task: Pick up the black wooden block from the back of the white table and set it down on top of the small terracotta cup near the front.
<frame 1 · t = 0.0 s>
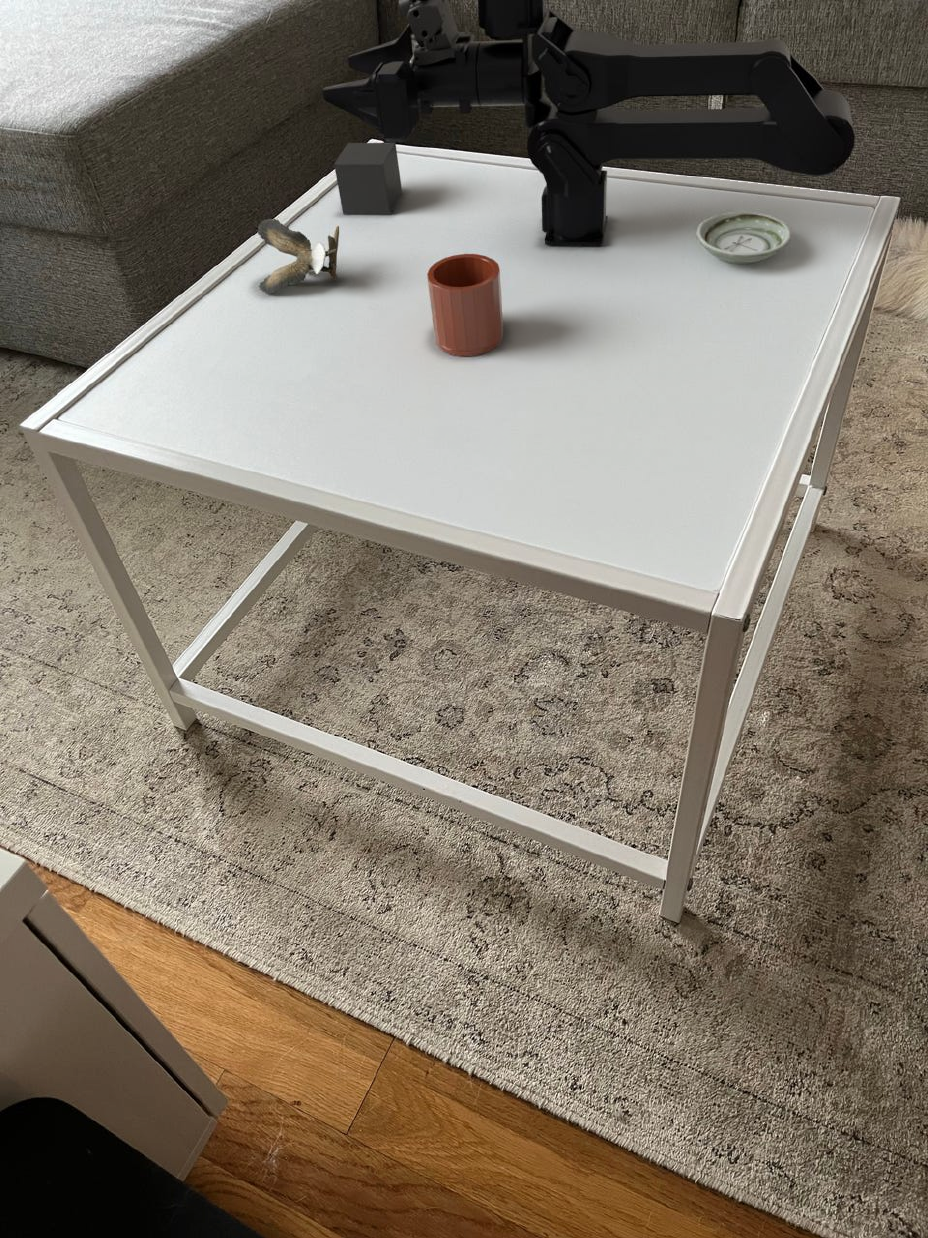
hand: (336, 77, 98), 17 cm above the table, tool horizontal, fingers open, 9 cm apart
saucer: (740, 254, 99), on the table
eagle figurine: (302, 282, 103), on the table
cup: (469, 337, 93), on the table
block: (373, 203, 115), on the table
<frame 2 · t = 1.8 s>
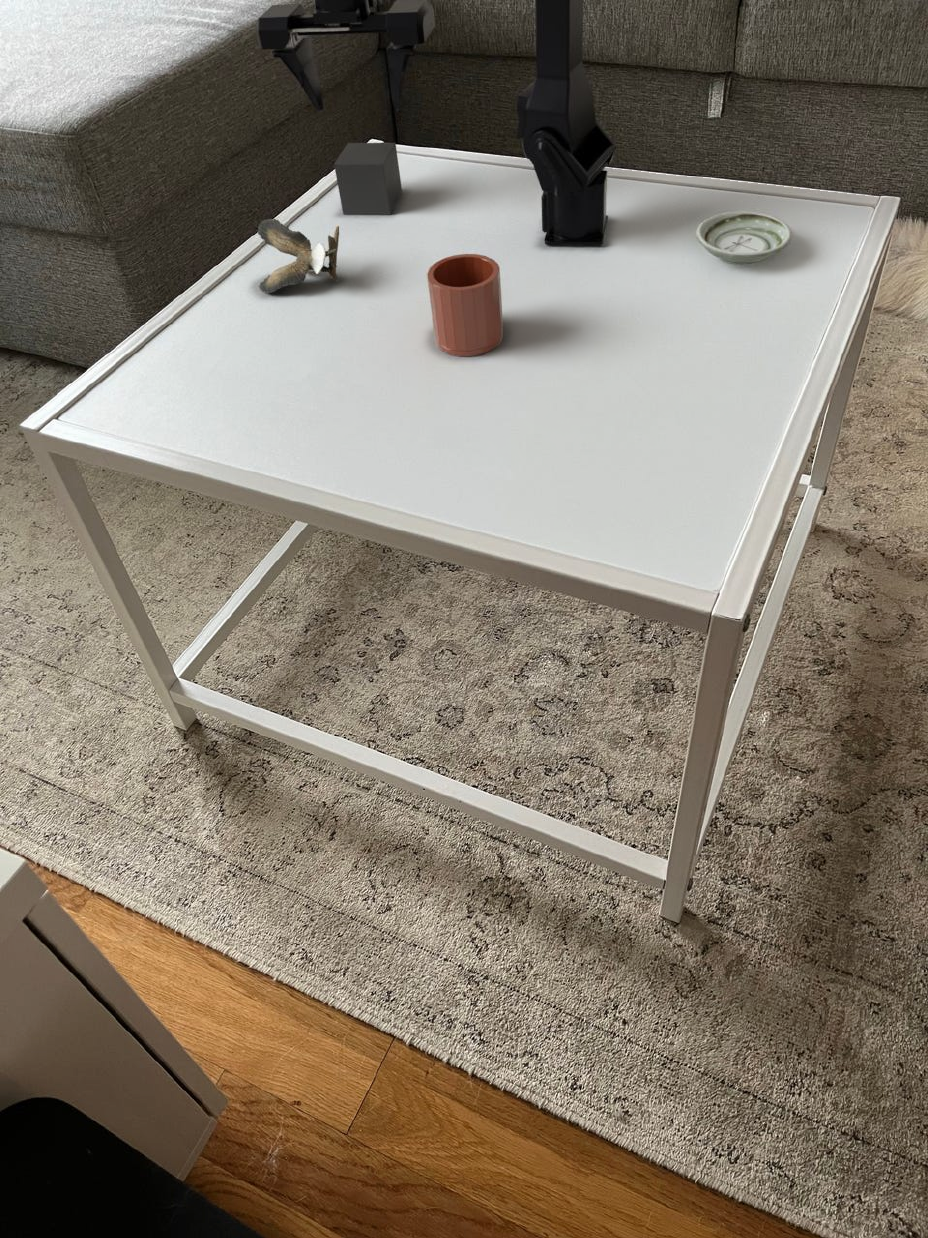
hand: (358, 109, 107), 11 cm above the table, tool pointing down, fingers open, 9 cm apart
nothing on the table moved.
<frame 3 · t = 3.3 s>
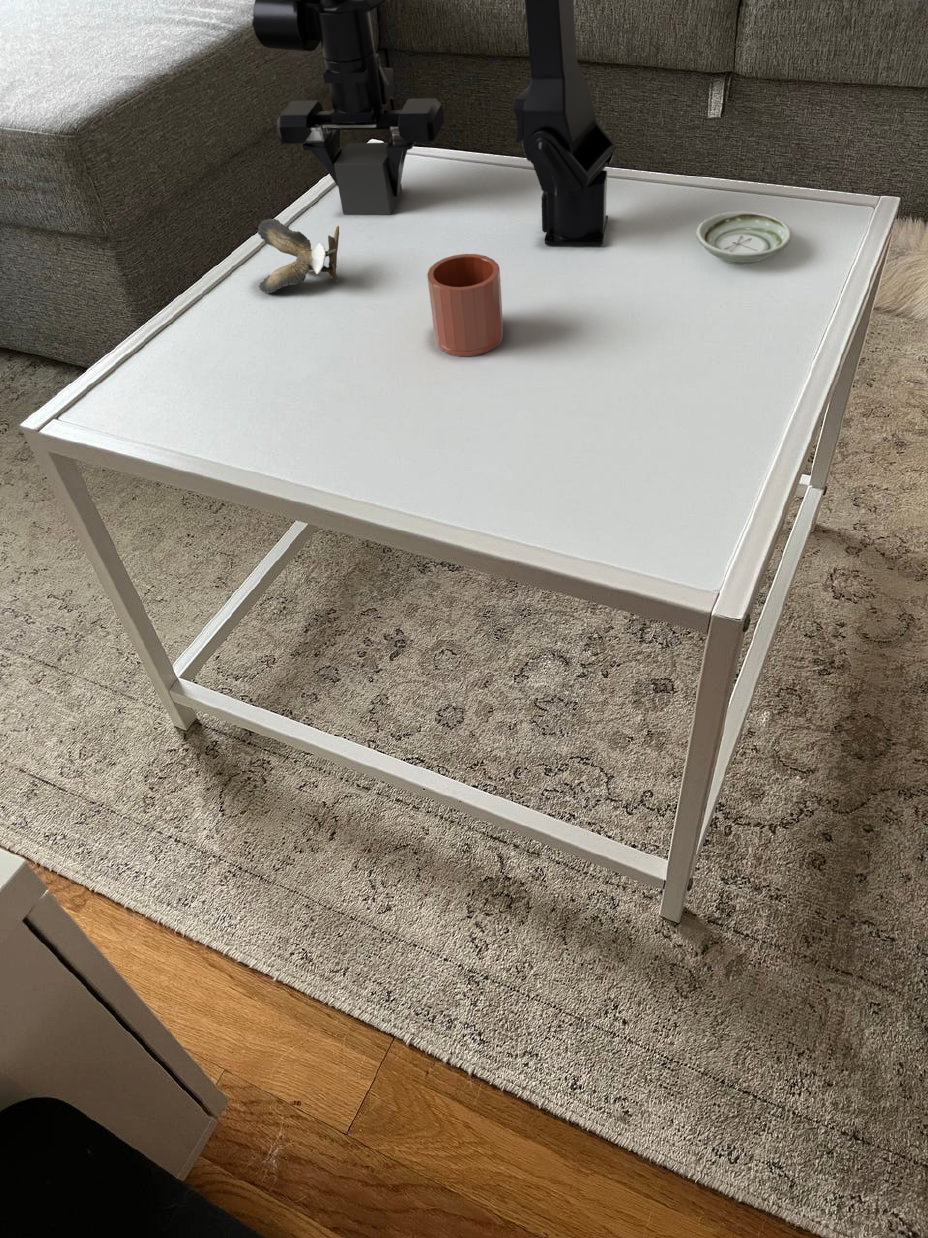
hand: (371, 194, 114), 1 cm above the table, tool pointing down, fingers closed on block, 6 cm apart
block: (373, 203, 115), on the table, touching gripper
everything else where it was.
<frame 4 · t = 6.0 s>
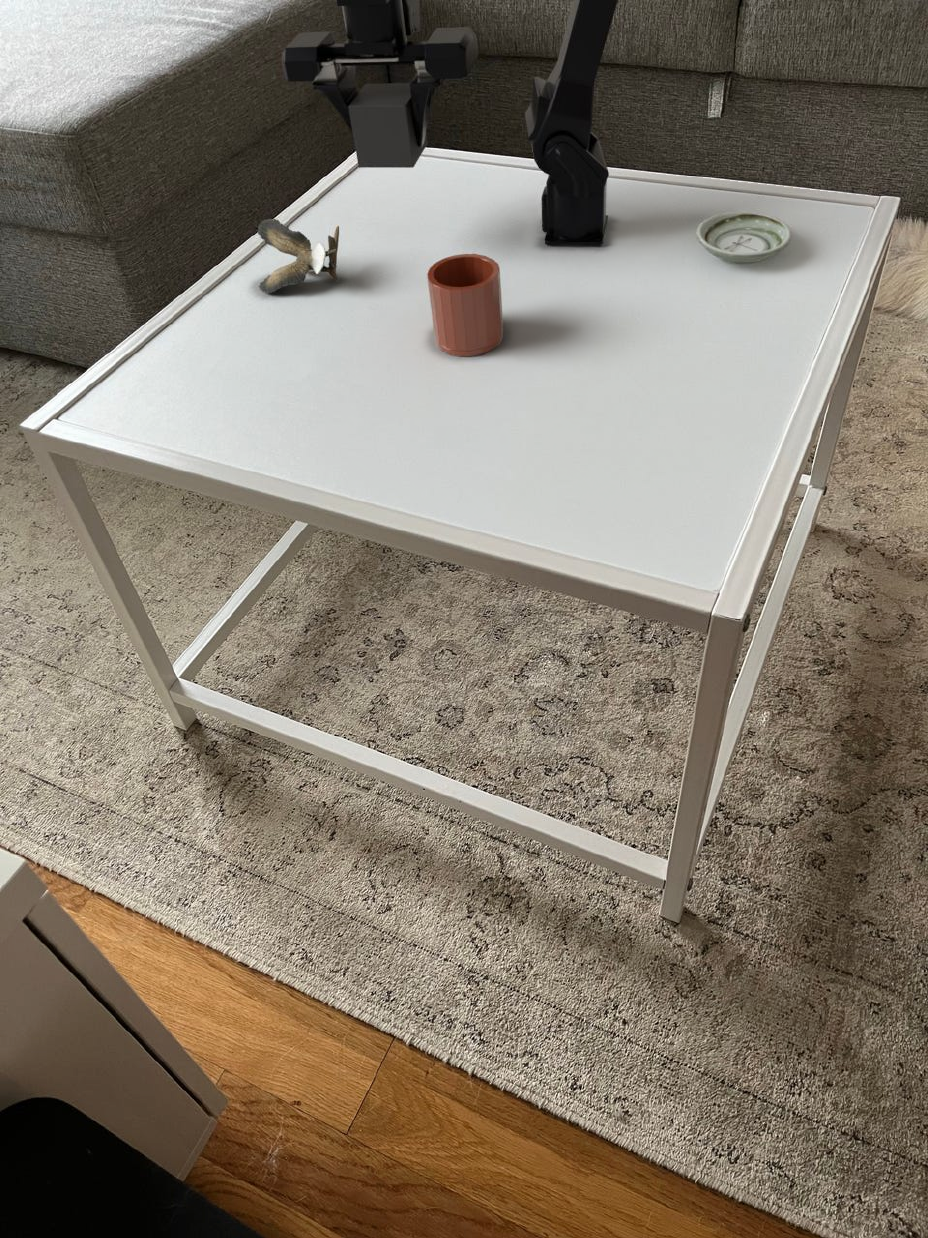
hand: (392, 145, 98), 11 cm above the table, tool pointing down, fingers closed on block, 6 cm apart
block: (393, 155, 99), point 10 cm above the table, touching gripper
everything else where it was.
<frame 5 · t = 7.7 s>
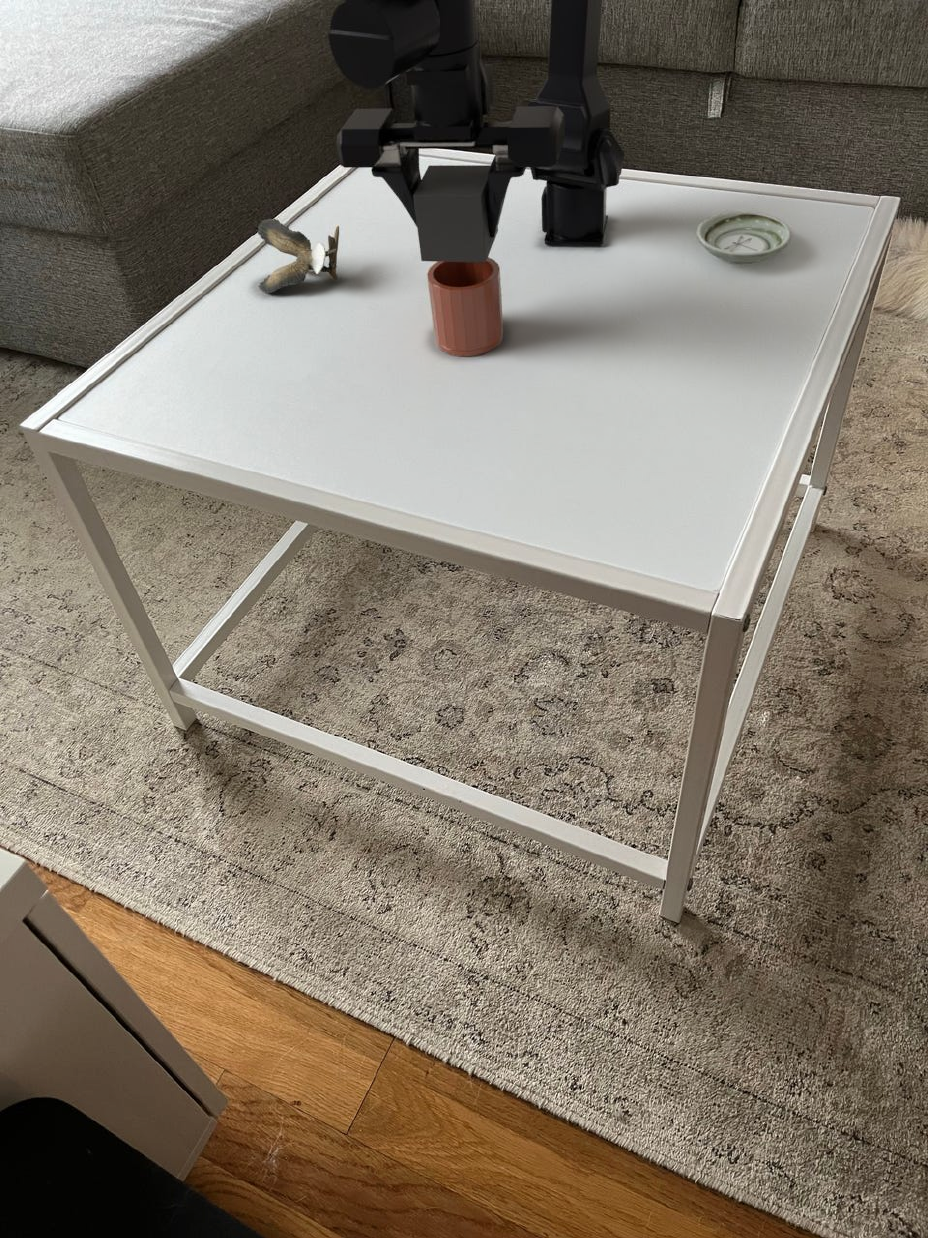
hand: (459, 234, 85), 10 cm above the table, tool pointing down, fingers closed on block, 6 cm apart
block: (460, 245, 86), point 9 cm above the table, touching gripper
everything else where it was.
when the fingers open (8 cm above the table, at t = 9.0 s): block stays where it is, resting on cup.
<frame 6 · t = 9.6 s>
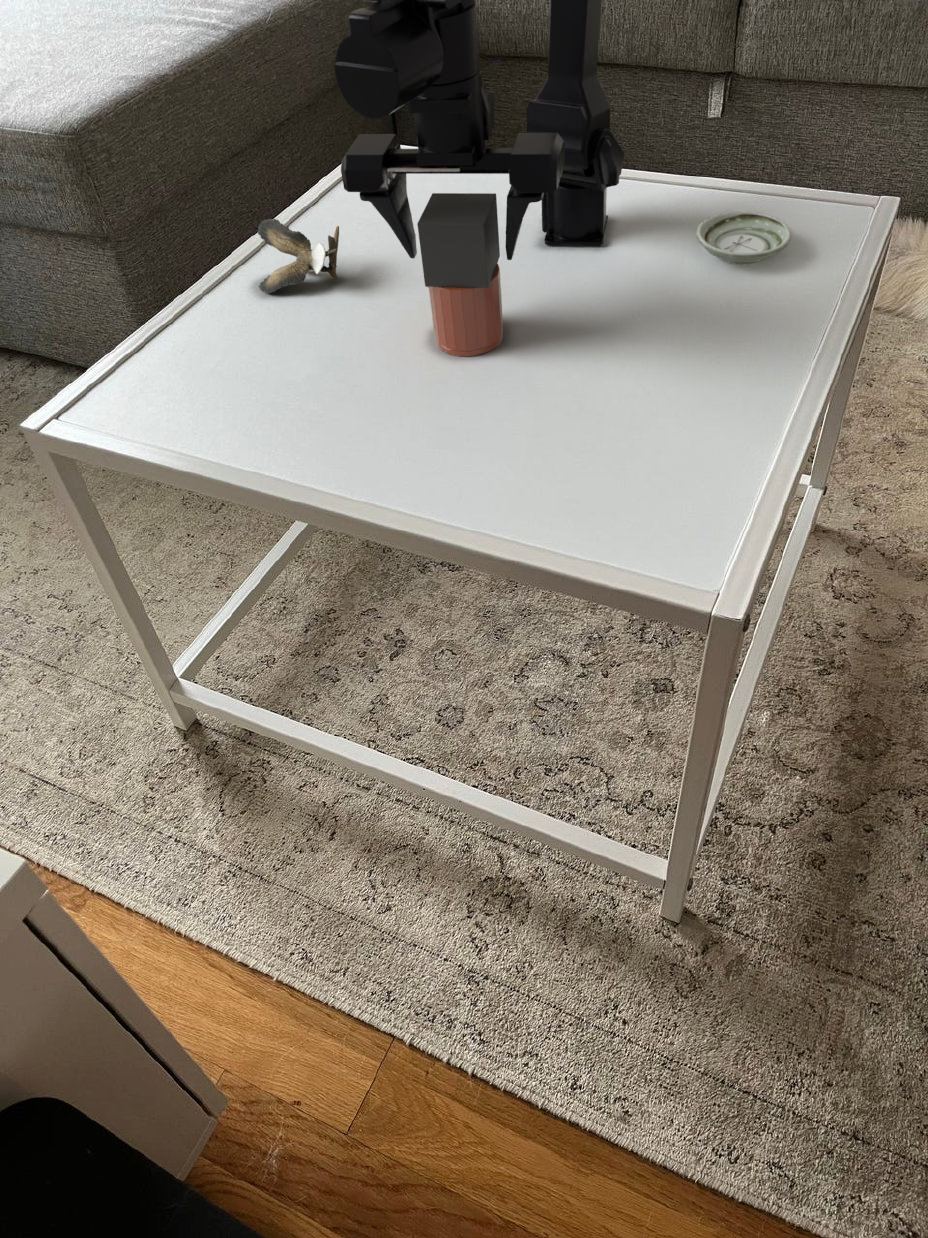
hand: (461, 256, 86), 8 cm above the table, tool pointing down, fingers open, 9 cm apart
block: (463, 271, 88), point 7 cm above the table, touching cup
everything else where it was.
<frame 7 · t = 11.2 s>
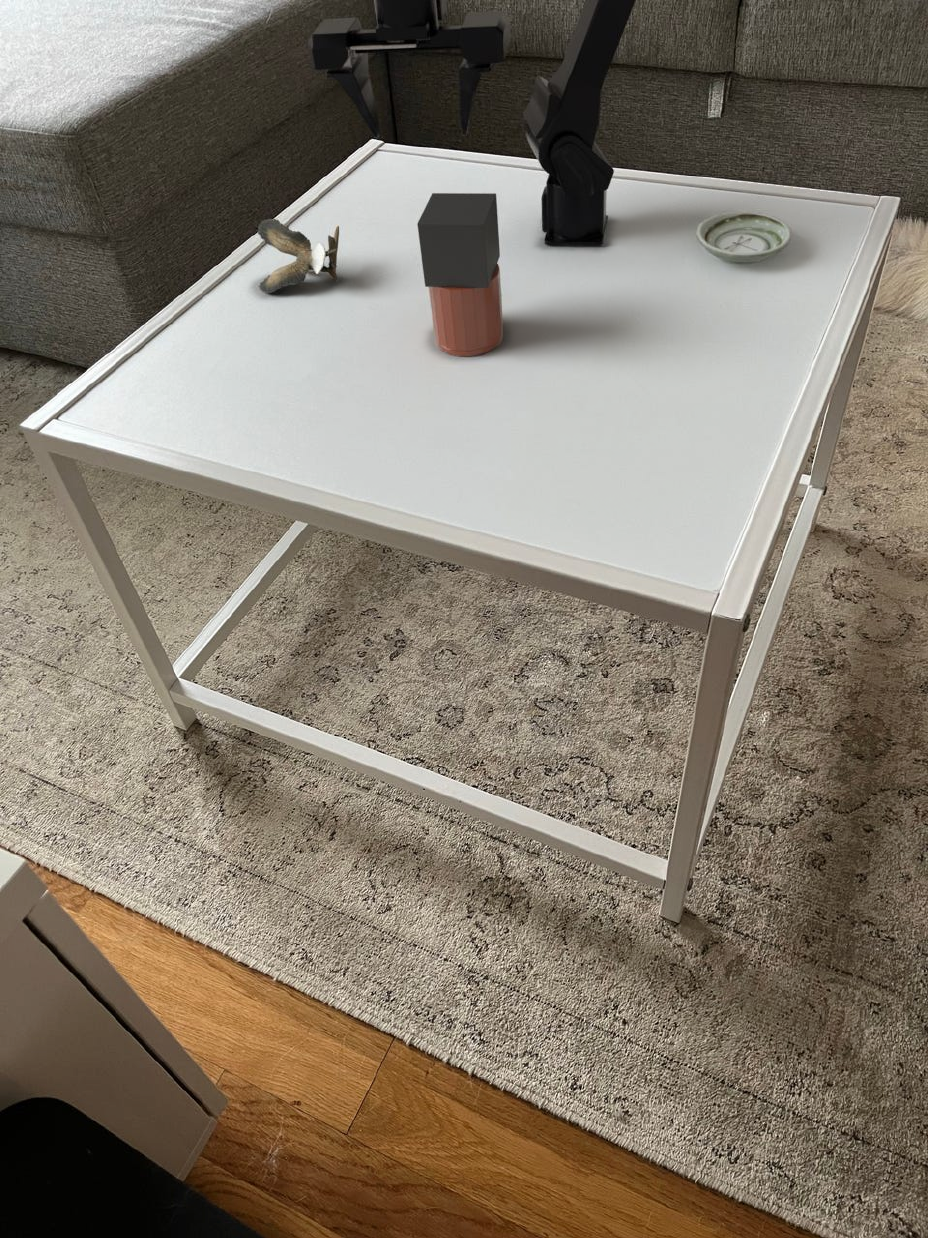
hand: (420, 134, 95), 13 cm above the table, tool pointing down, fingers open, 9 cm apart
nothing on the table moved.
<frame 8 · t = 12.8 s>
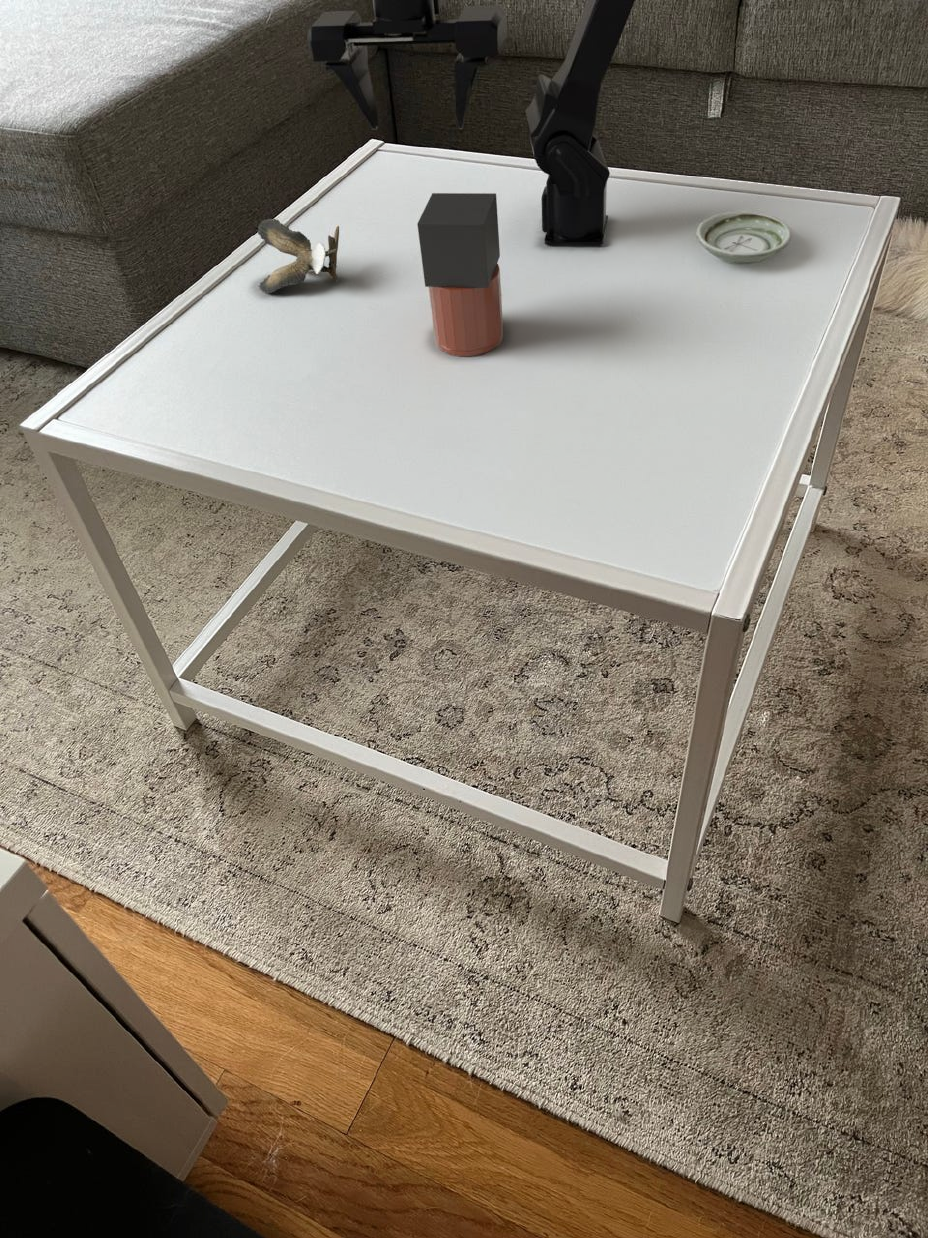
hand: (418, 127, 96), 13 cm above the table, tool pointing down, fingers open, 9 cm apart
nothing on the table moved.
at the end: block 0.0 cm off-centre on the cup, point 7.0 cm above the cup's base; the gripper is holding nothing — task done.
